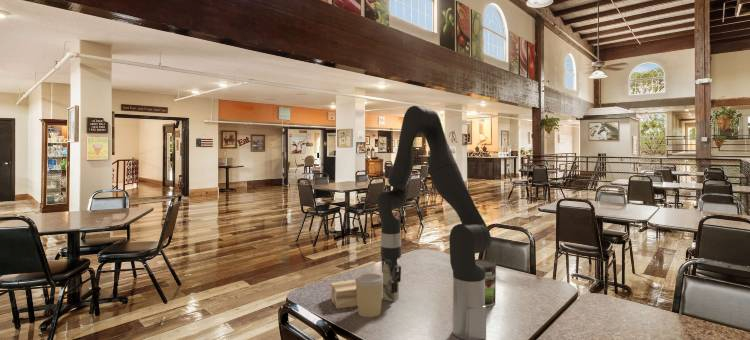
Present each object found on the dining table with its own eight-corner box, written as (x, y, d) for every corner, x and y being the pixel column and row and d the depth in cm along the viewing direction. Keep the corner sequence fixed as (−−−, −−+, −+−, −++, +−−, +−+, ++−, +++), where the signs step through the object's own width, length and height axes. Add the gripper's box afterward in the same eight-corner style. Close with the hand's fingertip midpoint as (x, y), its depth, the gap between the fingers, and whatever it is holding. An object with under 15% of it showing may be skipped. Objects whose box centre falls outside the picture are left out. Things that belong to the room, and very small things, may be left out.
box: (382, 299, 140) (381, 265, 139) (387, 295, 144) (387, 262, 143) (395, 302, 137) (394, 267, 137) (400, 298, 141) (399, 263, 141)
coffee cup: (367, 304, 135) (367, 271, 135) (388, 311, 129) (388, 276, 129) (350, 313, 128) (349, 278, 127) (371, 321, 122) (371, 284, 121)
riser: (364, 304, 135) (364, 288, 135) (336, 308, 132) (336, 291, 132) (356, 294, 144) (356, 279, 144) (330, 298, 141) (330, 282, 141)
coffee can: (501, 305, 134) (502, 265, 133) (475, 308, 131) (476, 268, 131) (485, 294, 144) (486, 258, 143) (461, 297, 141) (461, 260, 141)
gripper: (408, 248, 134) (408, 294, 135) (393, 239, 148) (393, 281, 148) (388, 250, 132) (388, 297, 132) (374, 241, 145) (375, 283, 146)
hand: (390, 288), depth 140 cm, fingers closed on box, 6 cm apart
